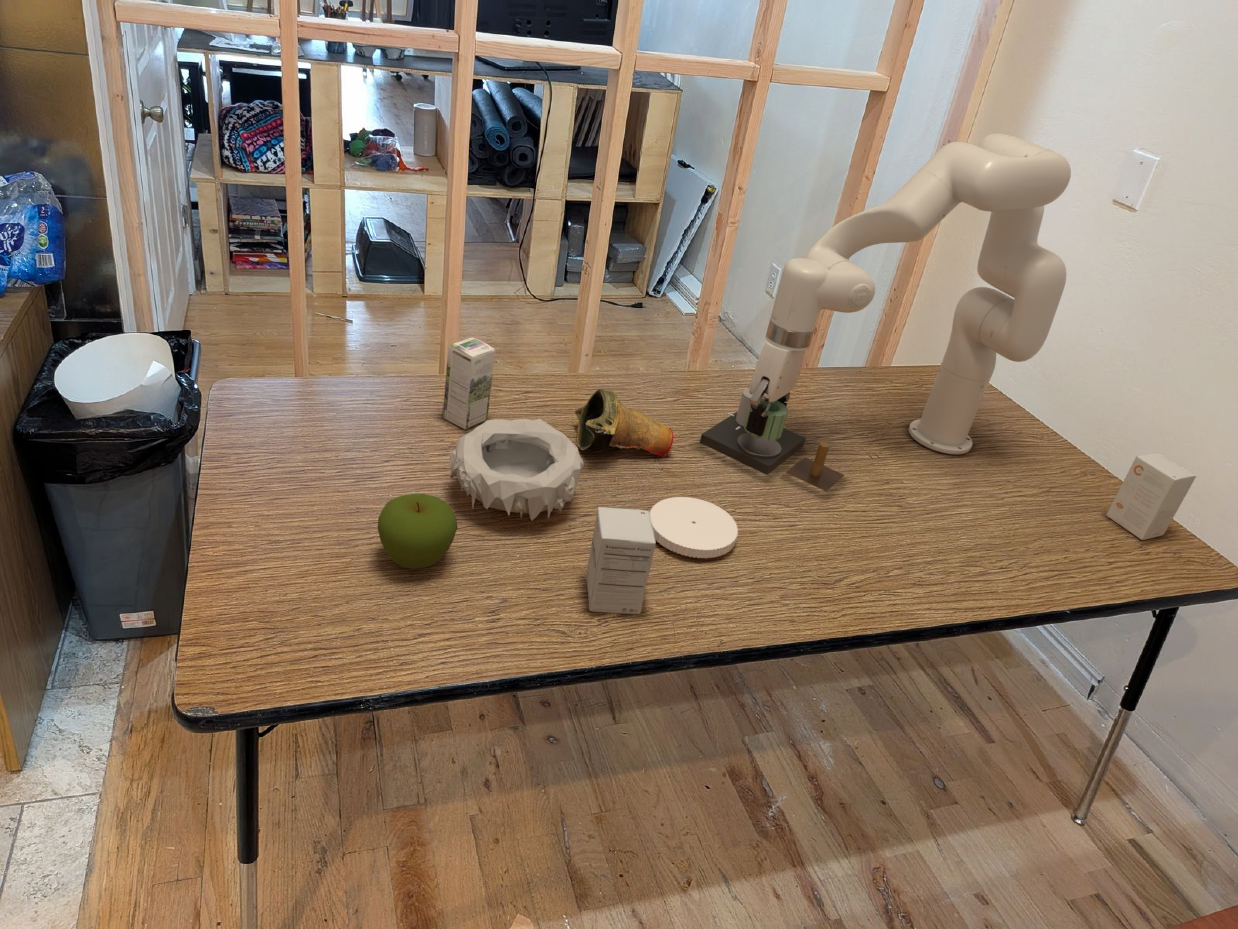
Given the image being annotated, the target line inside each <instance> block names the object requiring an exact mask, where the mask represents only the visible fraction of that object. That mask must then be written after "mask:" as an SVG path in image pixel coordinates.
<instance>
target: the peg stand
mask: <svg viewBox="0 0 1238 929" xmlns="http://www.w3.org/2000/svg"><path fill="white" fill-rule="evenodd" d="M830 446H831V445H830V444H829V443H828V442H825V441H820V442H819V444H818V447H817V450H816V453H815V457H814V460H813V459H810V458H808V457H807V456H805V457H803V458H801V460H799V461H798V462H796V463H795V464H794V465H793V466H792V467H790V468H789V469H788V470H786V471H785V473H786V474H787V475H790V476H792V477H794V478H796V479H799V480H800V481H803V482H805V483H807V484H810V485H811V486H813V487H816V488H818V489H819V490H822V491H824V492H826V493H827V492H828V491H830V489H831V488H832V487H834V486H835V484H837V483H838V482H839V481H840V480H841V479H842V478H844V477H845V474H843V473H841V472H839V471H836V470H834V469H832V468H830V467H828V466H826V465H825V462H826V459H827V456H828V453H829V451H830Z"/></svg>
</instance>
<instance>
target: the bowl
mask: <svg viewBox="0 0 1238 929" xmlns="http://www.w3.org/2000/svg"><path fill="white" fill-rule="evenodd" d="M449 460H450V464H449V468H450V474H451V475H450V476H449V478H450V479H451V480H453V479H454V477H455V476H456V478H457V480H458V484H459V485H460V486H461V487H460V488H461V490H463V491H465V492H466V496H467V498H469V496H471V505H472V508H474V506H475V503H476V500H477V501H479V502H481V503H482V504H483V505H482V506H483V507H484V508H485V509H486V510H488V509H489V508H491V509H495V510H500V511H505V512H506V513H507V515H508V516H510V514H511V513H514V514H520V519H522V517H523V514H528V515H529V518H530V520H531V521H534V520H535V519H536V518H537V517H538V516H539V515H540V513H541V512H544V511H547V519H550V515H551V513H552V512H553V511H554V509H555V510H557V513H560V512H562V509H563V508H564V505H565V504H566V503H569V502H570V501H572V500H573V497H574V494H575V491H576V488H577V486H578V485H579V481H580V480H579V479H580V473H582V472H583V469H584V465H585V463H584V461H583V458H582V457H581V455H580V452H579V447H578V446H577V445H576V444H575V443H574V442H573V441H572V440H571V439H570V438H569V437H568V436H567V435H566V434H565V433H564V432H562V431H560V430H558V429H557V428H554V426H552V425H550V424H549V423H547V422H546V421H544V420H543V419H541V418H538V419H528V418H515V419H512V420H511V419H510V420H508V419H500V418H494V419H487V421H485V422H482V423H480V424H479V425H477V426H476V427H475V428H474V429H473V430H471V431H469V432H468V433H466V434H464V435H463V436H461V437H460V438H458V439H457V442H456V447H455V449H453V450H452V451H451V453H449Z"/></svg>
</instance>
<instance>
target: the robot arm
mask: <svg viewBox="0 0 1238 929" xmlns="http://www.w3.org/2000/svg"><path fill="white" fill-rule="evenodd" d="M1071 176H1072V170H1071V165H1070V163H1069V161H1068V160H1067V158H1066V157H1065V156H1064V155H1062V154H1061V153H1059V152H1057V151H1054V150H1052V149H1050V148H1046V147H1043V146H1041V145H1038V144H1035V143H1033V142H1030V141H1028V140H1026V139H1023V138H1020V137H1017V136H1014V135H1011V134H1007V133H999V132H998V133H997V132H996V133H991V134H987V135H986V136H985V137H983V138H982V139H981V140H980V141H979V143H978V144H977V145H975V144H972V143H969V142H965V141H952V142H949V143H947V144H946V145H944V146H943V147H941V148H940V149H939V150H937V152H936V153H935V154H934V155H933V156H932V157H931V158H929V160H928V161H927V162H926V163H925V164H923V166H922V167H920V168H919V170H918V171H917V172H915V173H914V175H913V176H912V177H910V178H909V180H908V181H907V182H906V183H905V184H903V186H901V187H900V188H899V189H898V190H897V191H896V192H895V193H894V195H892V196H891V197H890V198H889V199H888V200H887V201H886V202H884V203H882V204H880V205H877V206H874V207H871V208H867V209H865V210H863V211H860V212H859V213H856V214H854V215H851V216H849V217H847V218H844V219H843V220H841V221H840V222H838V223H836V224H835V225H833V226H832V227H831V228H830V229H828V231H826V233H824V235H822V236H821V237H820V238H819V239H818V240H817V241H816V242H815V244H813V246H811V248H810V249H809V250H808V251H807V253H806V254H805V255H804V256H803V258H802V257H796V258H794V257H793V258H791V259H789V260H788V261H787V262H786V263H785V264H784V267H783V269H782V273H781V275H780V280H779V284H778V288H777V292H776V295H775V300H774V302H773V306H772V310H771V315H770V317H769V318H770V319H769V321H768V322H769V323H768V326H767V330H766V333H765V340H766V341H765V342H764V345H763V347H762V349H761V351H760V354H759V357H758V359H757V362H756V365H755V368H754V371H753V375H752V378H751V380H750V384H749V388H748V389H749V393H750V394H753V395H752V397H751V399H750V403H751V408H750V415H749V418H748V422H747V426H746V430H747V431H749V432H751V433H753V434H756V435H758V436H762V435H763V433H764V430H765V426H766V423H767V419H768V416H767V412H768V410H769V408H770V406H771V404H772V402H774V401H776V400H777V401H779V402H781V403H783V404H784V405H785V406H786V407H787V406H788V402H789V400H790V398H791V397H790V396H791V392H792V391H793V390H794V389H795V388H796V385H797V383H798V381H799V378H800V374H801V371H802V367H803V363H804V360H805V354H806V351H808V350H809V349H810V346H811V344H812V339H813V336H814V334H815V333H814V332H815V329H816V326H817V322H818V319H819V316H820V312H821V310H828V311H832V312H836V313H837V312H839V313H844V314H845V313H846V314H847V313H849V314H852V313H856V312H859V311H861V310H864V309H865V308H867V307H868V306H869V305H870V303H871V302H872V301H873V299H874V297H875V294H876V283H875V281H874V279H873V278H872V276H871V275H870V274H869V273H868V272H867V271H866V270H864V269H863V268H861V267H860V266H858V265H856V264H855V263H853V262H852V261H850V260H849V259H850V258H851V257H852V256H853V255H855V254H857V253H858V252H859V251H861V250H864V249H867V248H868V247H872V246H875V245H880V244H897V243H900V244H901V243H914V242H919V241H922V240H923V239H924V238H926V237H927V236H928V235H929V234H930V233H931V232H932V231H933V230H934V229H935V228H936V227H937V225H939V224H940V223H941V222H942V221H943V220H944V219H945V218H946V217H947V216H948V215H949V214H950V213H951V212H952V211H953V210H954V209H955V208H956V207H957V206H959V204H961V203H964V204H966V205H968V206H971V207H973V208H975V209H977V210H979V211H983V212H989V213H990V216H989V220H988V224H987V227H986V231H985V235H984V239H983V242H982V246H981V249H980V253H979V257H978V260H977V266H976V267H977V269H976V270H977V275H978V277H979V278H980V279H981V280H982V281H984V282H985V283H986V284H988V285H990V286H991V287H992V288H991V287H987V286H977V287H974V288H972V289H971V288H970V290H968V291H966V292H965V293H964V294H963V295H962V296H961V298H959V300H958V302H957V304H956V306H955V310H954V313H953V318H952V326H951V333H950V337H949V340H948V343H947V347H946V350H945V352H944V355H943V358H942V360H941V362H940V365H939V369H938V371H937V374H936V376H935V379H934V382H933V385H932V387H931V389H930V393H929V395H928V398H927V401H926V404H925V406H924V409H923V412H922V414H921V417H920V418H918V419H915V420H913V421H911V422H910V424H909V427H908V433H909V435H910V437H911V438H912V439H913V440H914V441H915V442H917V443H918V444H920V445H922V446H924V447H925V448H927V449H930V450H932V451H934V452H937V453H942V454H947V455H964V454H967V453H969V452H970V451H971V449H972V447H973V440H972V438H971V437H970V436H969V433H970V430H971V428H972V425H973V423H974V421H975V418H976V415H977V413H978V411H979V408H980V406H981V403H982V402H983V398H984V396H985V393H986V390H987V388H988V386H989V383H990V382H991V379H992V377H993V374H994V372H995V368H996V365H997V364H996V363H997V354H998V355H1000V356H1001V357H1003V358H1005V359H1006V360H1009V361H1011V362H1016V363H1021V362H1027V361H1028V360H1030V359H1032V358H1033V357H1035V356H1036V355H1037V354H1038V353H1039V352H1040V350H1041V349H1042V347H1043V346H1044V344H1045V342H1046V340H1047V338H1048V336H1049V333H1050V330H1051V328H1052V324H1053V323H1054V319H1055V316H1056V313H1057V310H1058V308H1059V304H1060V301H1061V298H1062V296H1063V292H1064V290H1065V286H1066V283H1067V267H1066V265H1065V262H1064V261H1063V259H1062V258H1061V257H1060V256H1059V255H1058V254H1056V253H1055V252H1053V251H1051V250H1049V249H1047V248H1044V247H1043V246H1040V245H1039V243H1038V238H1039V234H1040V229H1041V225H1042V222H1043V219H1044V218H1043V217H1044V213H1045V206H1047V205H1049V204H1052V203H1053V202H1054V201H1056V200H1057V199H1058V198H1060V196H1062V194H1063V193H1064V192H1065V191H1066V189H1067V188H1068V186H1069V183H1070V180H1071ZM764 394H765V395H767V396H769V397H767V396H766V397H764V396H763V395H764ZM768 398H769V399H768ZM761 400H764V401H766V405H765V407H764V408H763V405H762V404H761Z"/></svg>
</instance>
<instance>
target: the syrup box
mask: <svg viewBox="0 0 1238 929" xmlns="http://www.w3.org/2000/svg"><path fill="white" fill-rule="evenodd" d="M495 354H496V349H495V348H494V347H492V346H490V345H489V344H488V343H486V342H484V341H482V340H480V339H479V338H478V339H477V338H476V337H469V338H466V339H463V340H459V341H457V342H454V343H451V344H449V345H448V346H447V358H446V371H445V383H444V386H445V387H444V396H443V397H444V398H443V407H442V418H443V419H444V420H445V421H447V422H450V423H452V424H453V425H455V426H457V427H459V428H461V429H462V430H466V431H467V430H470V429H471V428H473V427H475V426H476V427H477V426H479V425H481V424H483V423H484V422H486V421H487V420H489V409H490V400H491V393H492V384H493V383H492V382H493V372H494V363H495V356H496V355H495Z"/></svg>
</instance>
